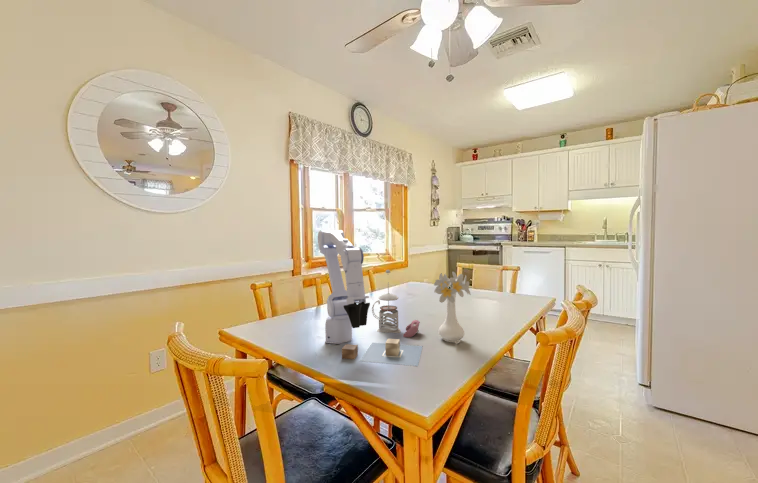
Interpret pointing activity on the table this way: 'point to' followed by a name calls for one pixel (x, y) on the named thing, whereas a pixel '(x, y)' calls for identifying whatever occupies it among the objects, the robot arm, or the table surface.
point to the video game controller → (412, 329)
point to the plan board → (405, 357)
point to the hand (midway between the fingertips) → (359, 326)
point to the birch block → (392, 347)
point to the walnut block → (349, 351)
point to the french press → (387, 314)
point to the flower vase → (451, 305)
